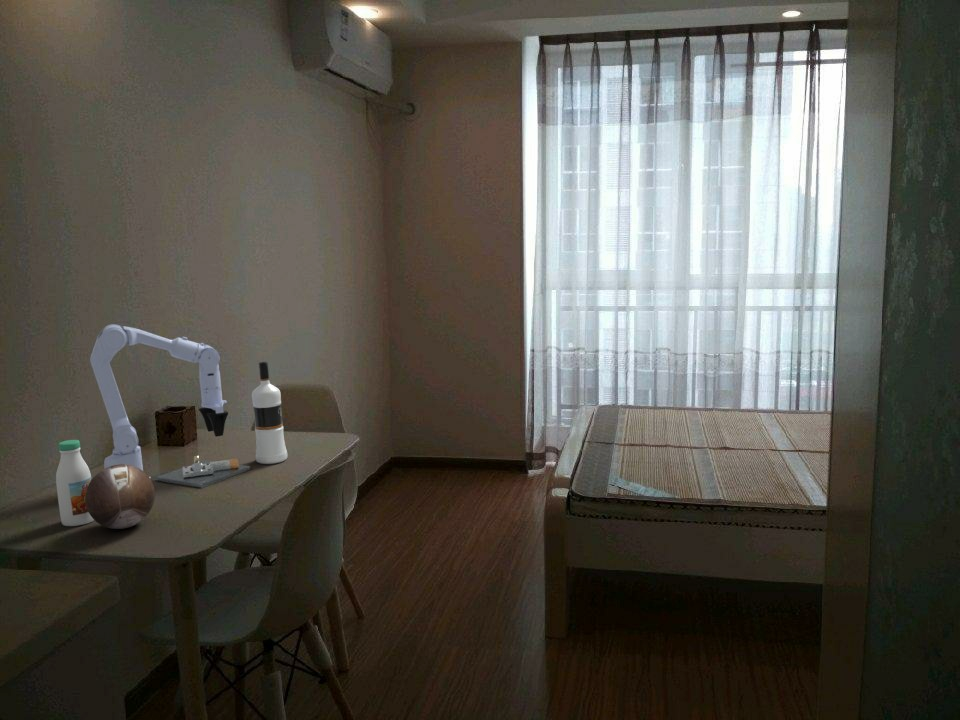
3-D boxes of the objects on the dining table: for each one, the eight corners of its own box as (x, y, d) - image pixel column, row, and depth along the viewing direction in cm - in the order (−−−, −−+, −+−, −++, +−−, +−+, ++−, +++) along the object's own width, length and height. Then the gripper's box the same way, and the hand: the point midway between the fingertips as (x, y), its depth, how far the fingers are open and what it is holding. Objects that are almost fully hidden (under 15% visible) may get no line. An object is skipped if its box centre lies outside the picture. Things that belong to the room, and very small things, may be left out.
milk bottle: (60, 529, 194) (49, 447, 190) (62, 519, 201) (52, 440, 197) (96, 523, 197) (86, 443, 193) (97, 513, 204) (87, 435, 200)
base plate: (201, 488, 221) (200, 475, 220) (156, 480, 229) (155, 468, 229) (250, 469, 236) (249, 457, 236) (206, 463, 245) (204, 451, 244)
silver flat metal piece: (183, 477, 226) (182, 470, 226) (183, 470, 234) (182, 463, 234) (239, 470, 232) (238, 462, 231) (237, 462, 239) (236, 455, 239)
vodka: (251, 460, 246) (242, 362, 241) (281, 454, 251) (272, 358, 246) (262, 466, 238) (253, 365, 233) (292, 460, 243) (284, 361, 238)
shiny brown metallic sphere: (106, 543, 183) (97, 479, 181) (78, 529, 193) (70, 468, 191) (169, 524, 194) (162, 463, 192) (140, 511, 204) (133, 453, 202)
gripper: (232, 389, 232) (236, 435, 234) (217, 382, 244) (222, 426, 246) (206, 392, 228) (211, 440, 230) (193, 385, 240) (198, 430, 242)
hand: (215, 433), depth 238 cm, fingers open, 7 cm apart
